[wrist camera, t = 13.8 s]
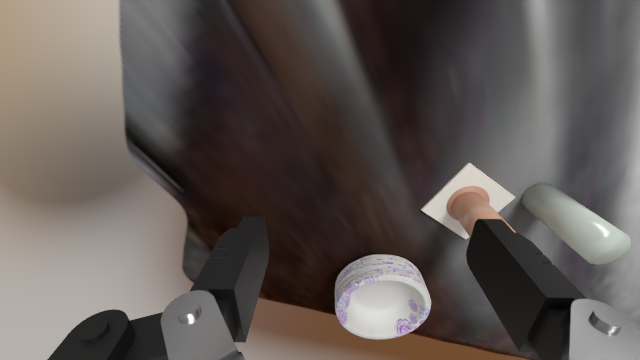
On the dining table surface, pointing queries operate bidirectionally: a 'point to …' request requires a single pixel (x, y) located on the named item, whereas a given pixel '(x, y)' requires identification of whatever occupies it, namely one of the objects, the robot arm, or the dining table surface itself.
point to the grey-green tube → (576, 224)
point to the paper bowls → (381, 297)
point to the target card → (461, 183)
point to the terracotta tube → (472, 210)
